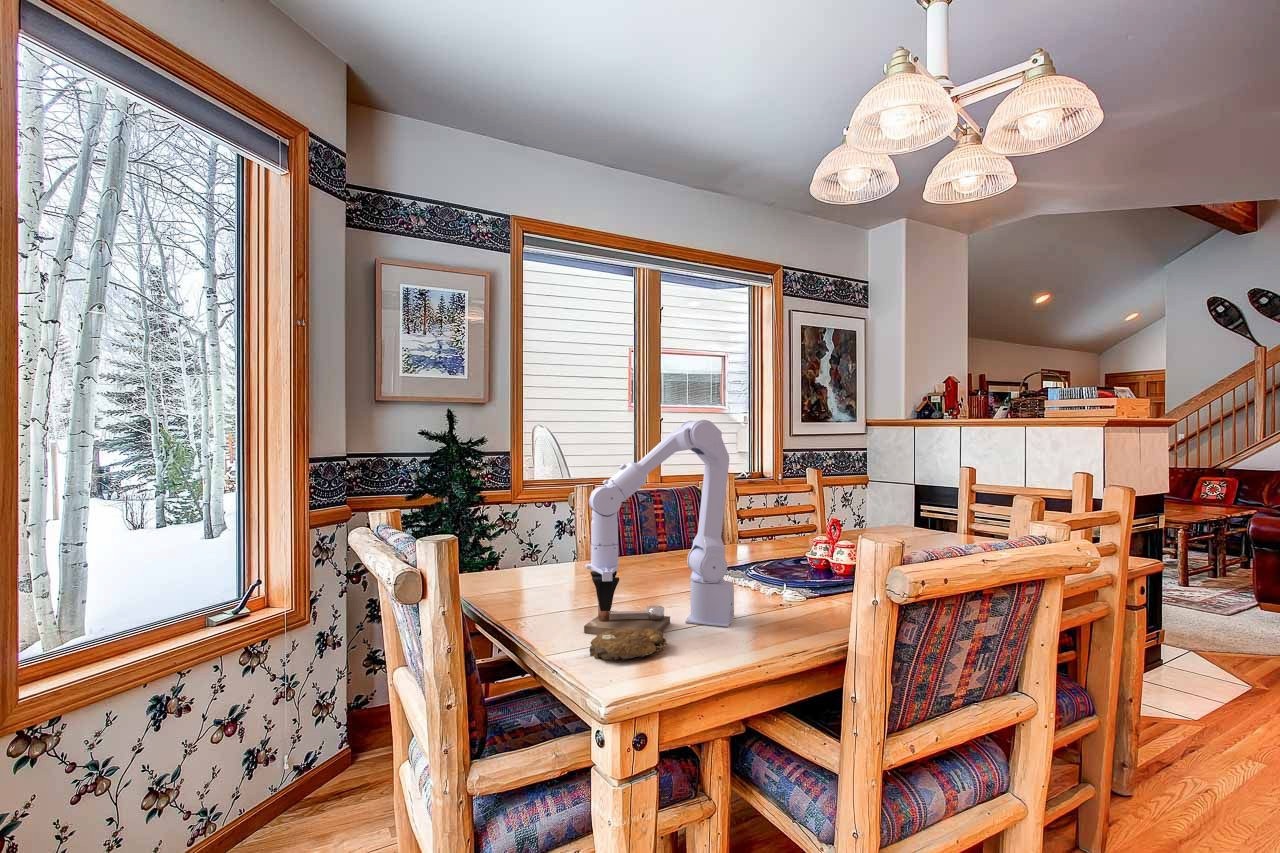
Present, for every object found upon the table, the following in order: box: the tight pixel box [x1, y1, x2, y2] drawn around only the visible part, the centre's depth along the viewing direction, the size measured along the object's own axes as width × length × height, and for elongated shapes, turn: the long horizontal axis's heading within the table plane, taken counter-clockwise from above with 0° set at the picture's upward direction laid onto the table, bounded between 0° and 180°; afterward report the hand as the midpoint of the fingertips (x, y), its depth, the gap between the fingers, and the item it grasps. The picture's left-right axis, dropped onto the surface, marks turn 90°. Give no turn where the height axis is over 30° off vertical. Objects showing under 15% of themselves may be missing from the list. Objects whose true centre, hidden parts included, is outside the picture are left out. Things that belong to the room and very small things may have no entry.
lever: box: [597, 600, 665, 620], centre depth 132 cm, size 14×4×6 cm, turn 95°
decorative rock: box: [589, 628, 668, 661], centre depth 117 cm, size 11×4×15 cm
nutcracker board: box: [583, 610, 671, 636], centre depth 131 cm, size 15×12×2 cm
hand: (604, 607), depth 131 cm, fingers open, 3 cm apart
